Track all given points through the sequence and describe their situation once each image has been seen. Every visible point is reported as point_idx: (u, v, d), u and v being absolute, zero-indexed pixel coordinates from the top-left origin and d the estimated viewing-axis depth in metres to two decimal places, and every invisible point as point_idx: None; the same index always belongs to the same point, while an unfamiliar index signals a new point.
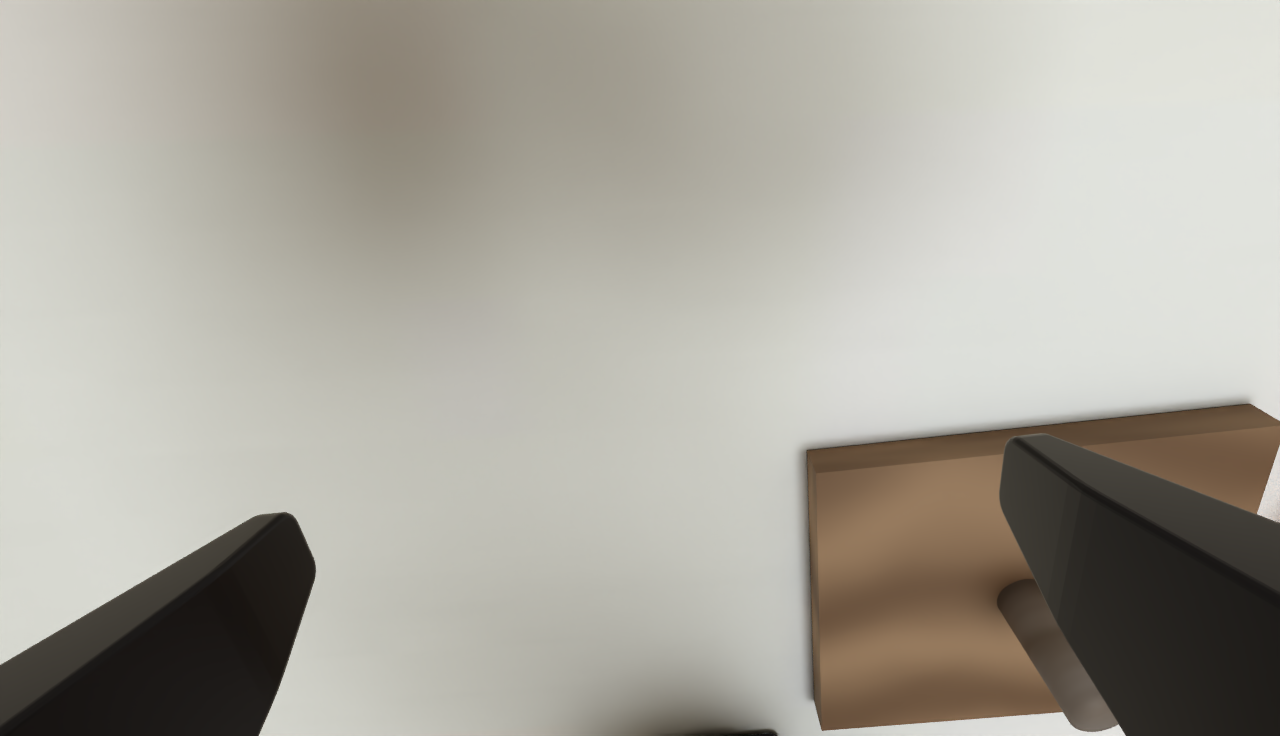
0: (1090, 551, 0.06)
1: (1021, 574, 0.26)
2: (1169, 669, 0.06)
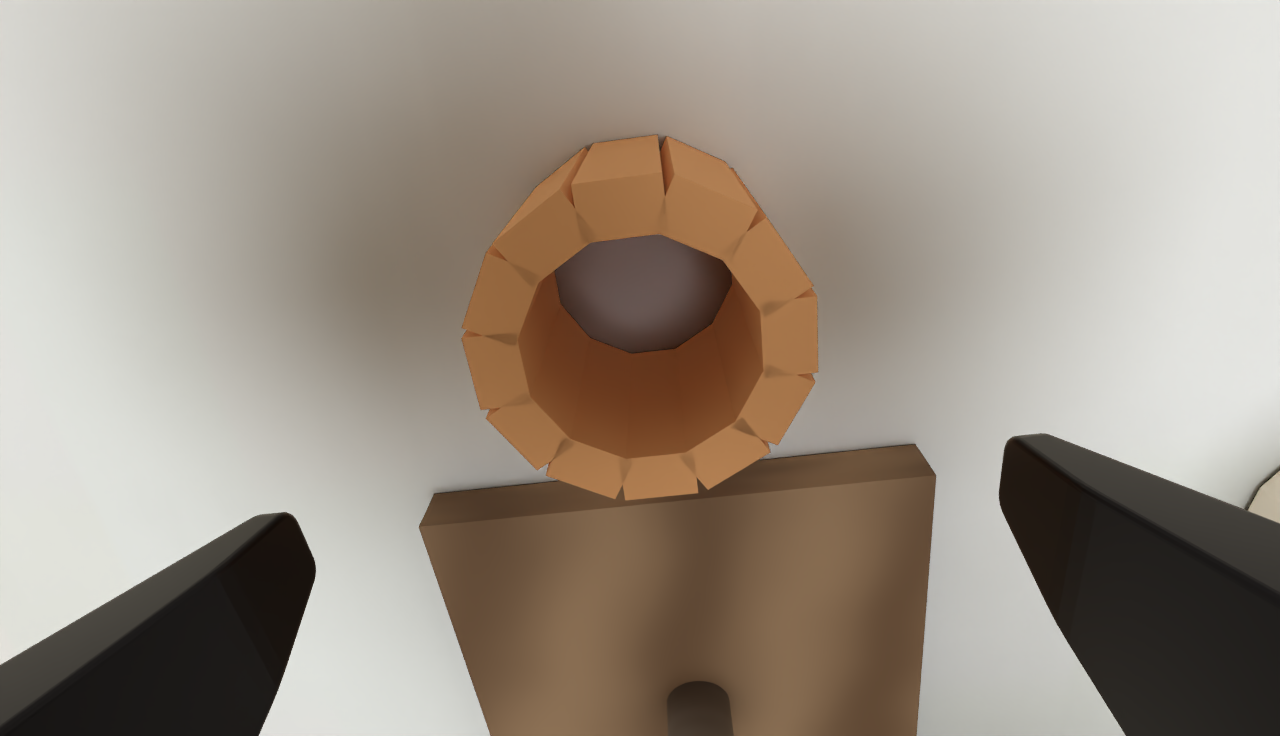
0: (1090, 552, 0.06)
1: (659, 709, 0.22)
2: (1169, 670, 0.06)
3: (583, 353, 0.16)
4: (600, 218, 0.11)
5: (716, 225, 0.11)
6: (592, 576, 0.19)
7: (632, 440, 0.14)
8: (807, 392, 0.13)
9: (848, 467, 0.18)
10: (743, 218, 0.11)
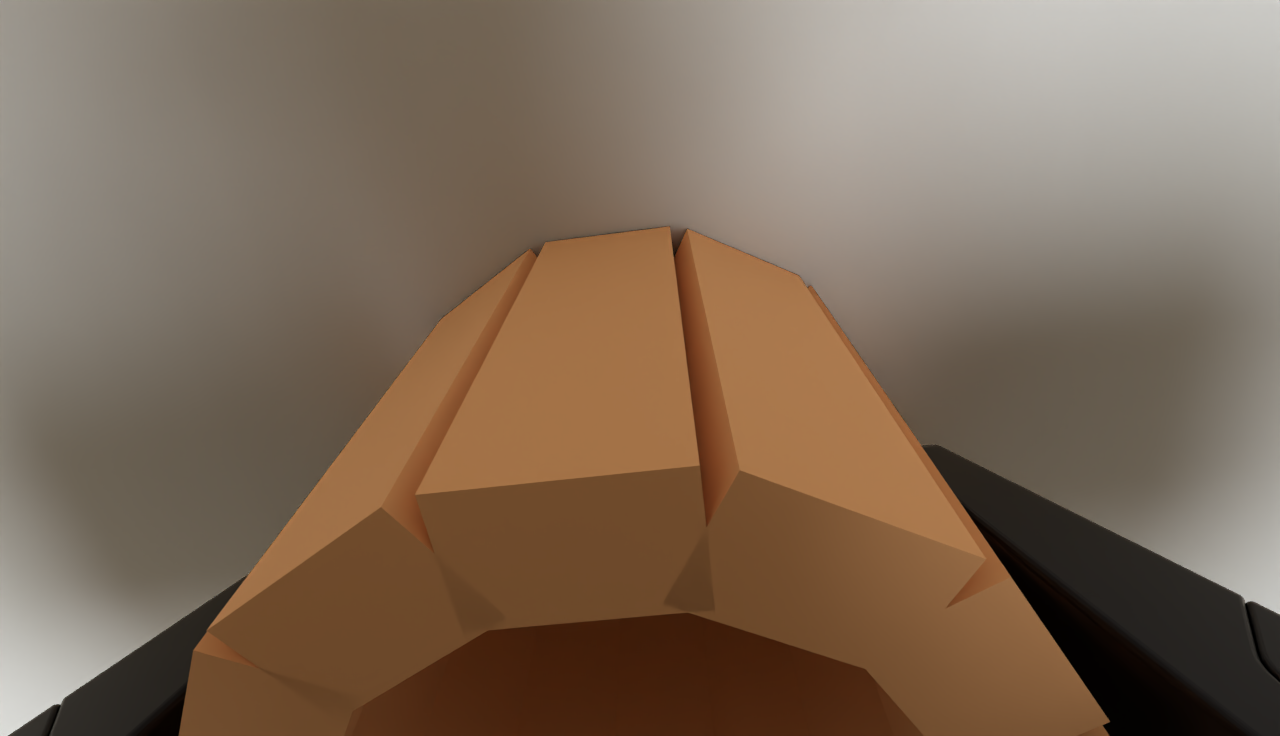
0: None
1: None
2: None
3: None
4: (512, 577, 0.04)
5: (856, 594, 0.04)
6: None
7: None
8: None
9: None
10: (938, 576, 0.04)
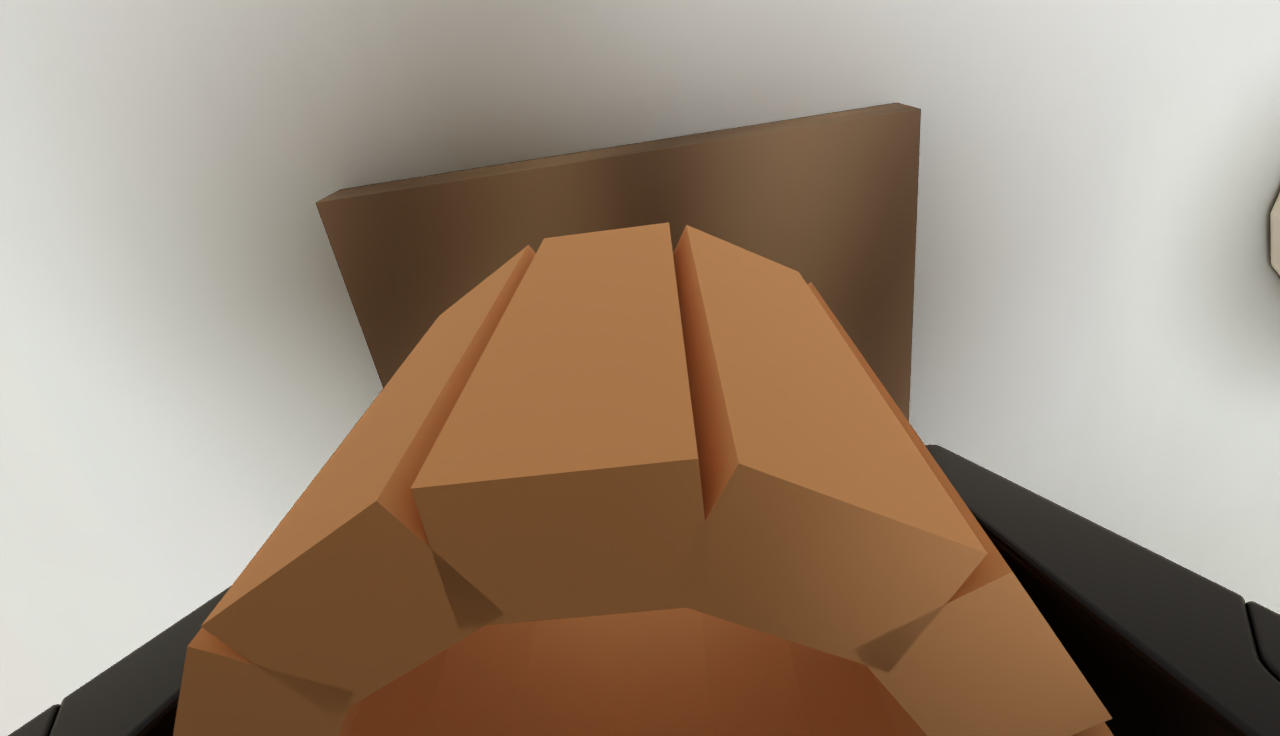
0: None
1: None
2: None
3: None
4: (509, 572, 0.04)
5: (857, 589, 0.04)
6: None
7: None
8: None
9: (818, 120, 0.16)
10: (939, 571, 0.04)
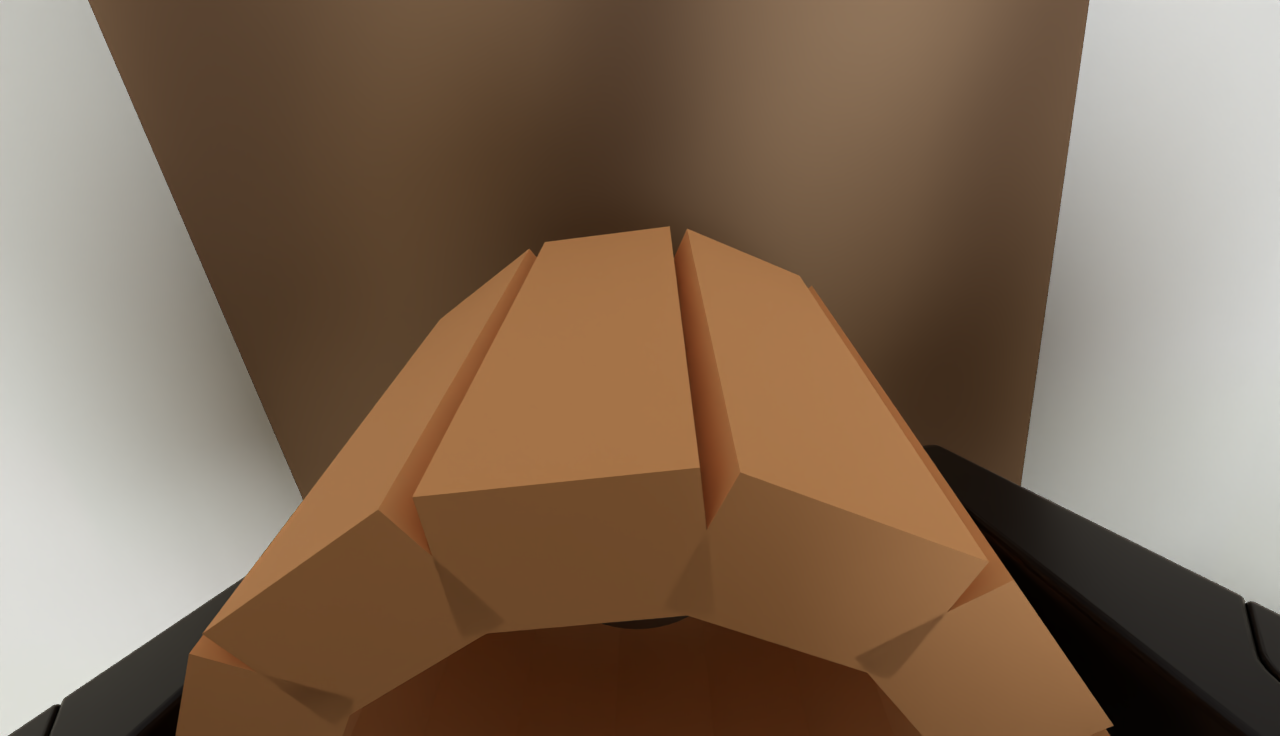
0: None
1: None
2: None
3: None
4: (511, 580, 0.04)
5: (858, 596, 0.04)
6: (415, 37, 0.10)
7: None
8: None
9: None
10: (941, 579, 0.04)
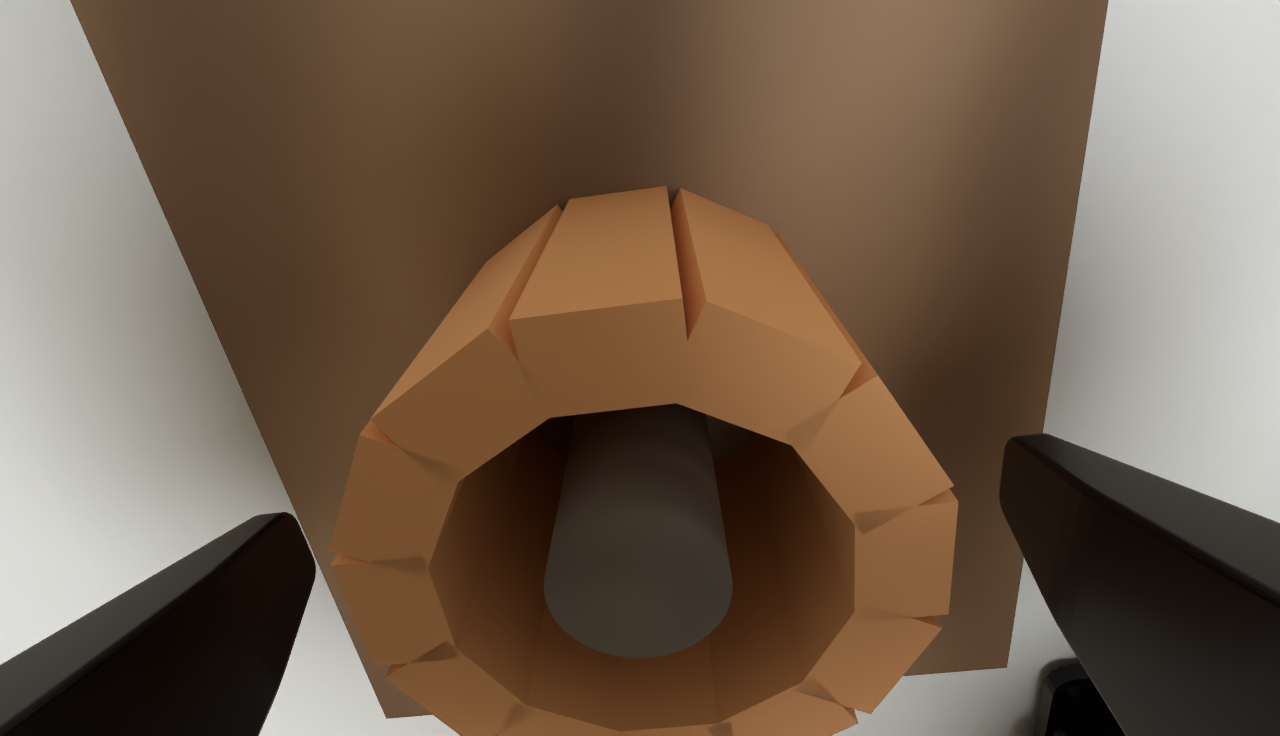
0: (1090, 551, 0.06)
1: None
2: (1169, 669, 0.06)
3: None
4: (566, 378, 0.06)
5: (782, 388, 0.06)
6: (409, 39, 0.09)
7: (630, 685, 0.09)
8: (924, 639, 0.07)
9: None
10: (833, 376, 0.06)
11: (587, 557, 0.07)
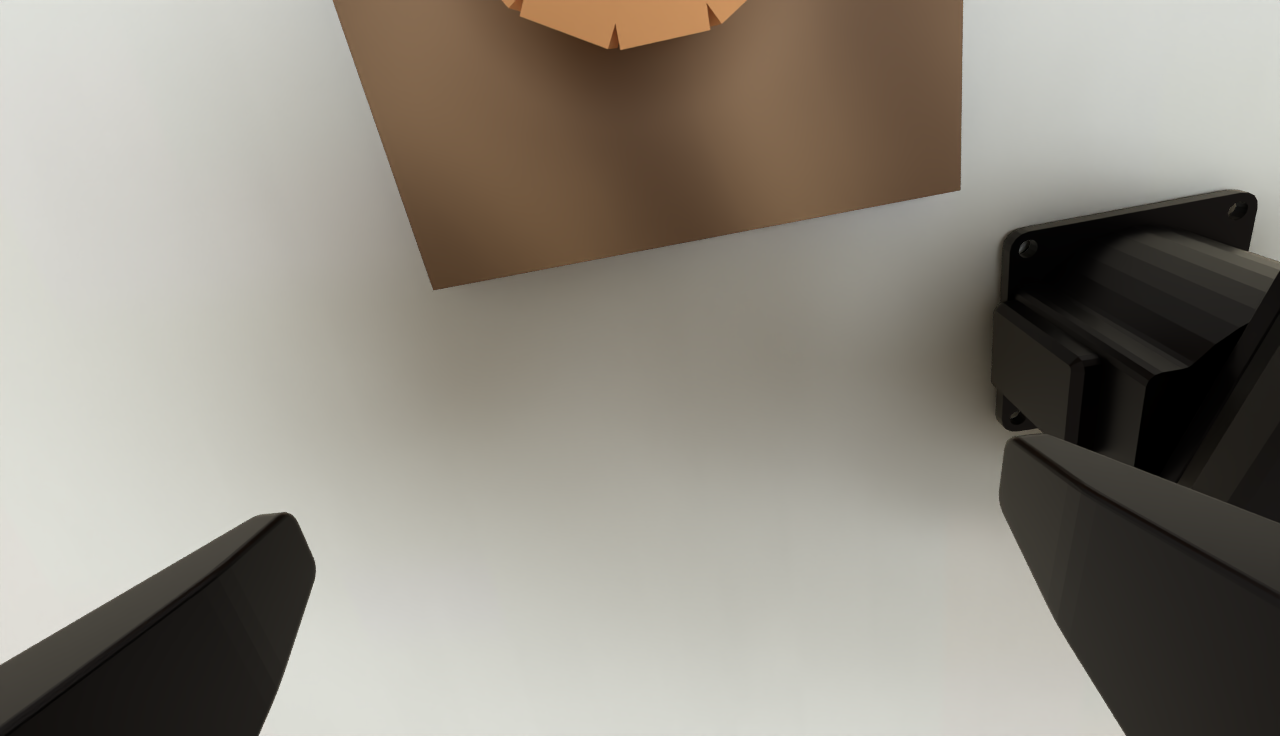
0: (1090, 551, 0.06)
1: None
2: (1169, 669, 0.06)
3: None
4: None
5: None
6: None
7: None
8: None
9: None
10: None
11: None
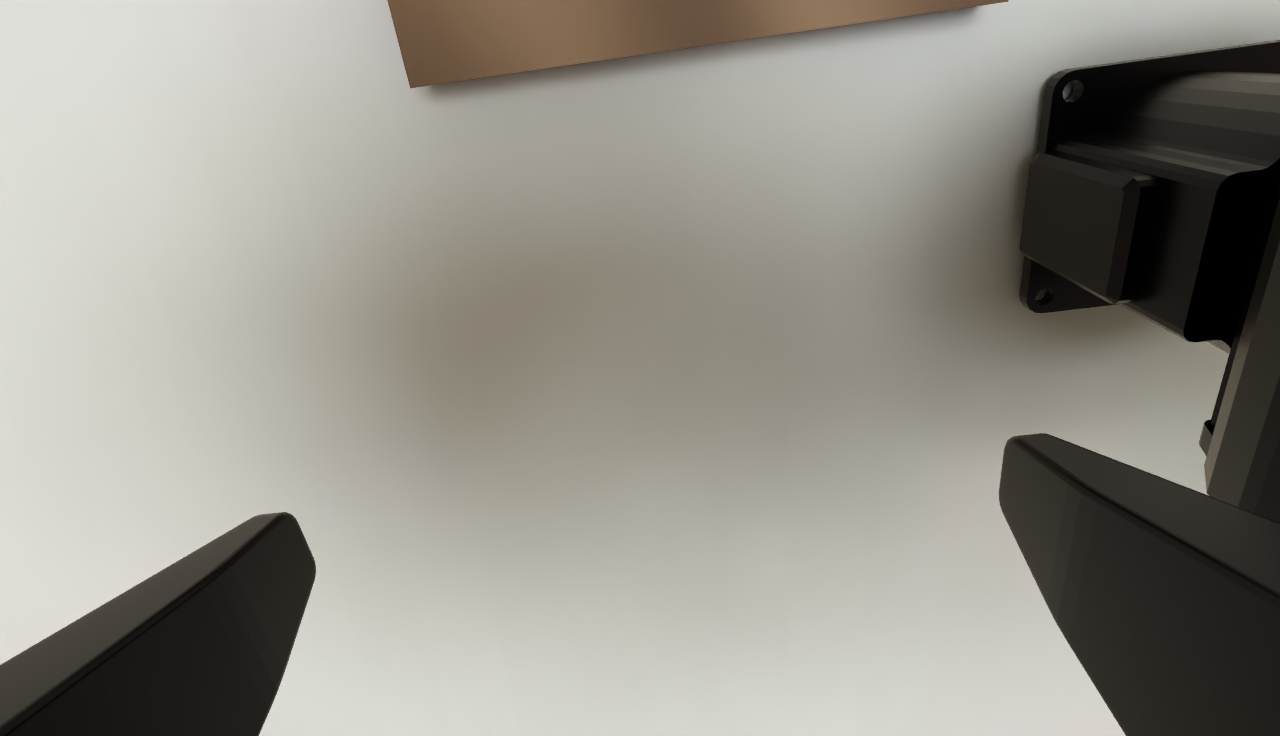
0: (1090, 551, 0.06)
1: None
2: (1169, 669, 0.06)
3: None
4: None
5: None
6: None
7: None
8: None
9: None
10: None
11: None
